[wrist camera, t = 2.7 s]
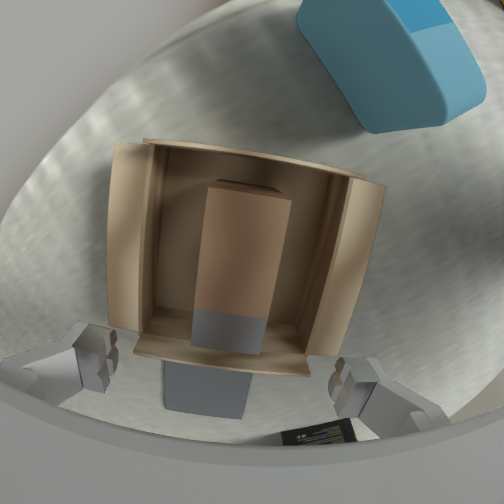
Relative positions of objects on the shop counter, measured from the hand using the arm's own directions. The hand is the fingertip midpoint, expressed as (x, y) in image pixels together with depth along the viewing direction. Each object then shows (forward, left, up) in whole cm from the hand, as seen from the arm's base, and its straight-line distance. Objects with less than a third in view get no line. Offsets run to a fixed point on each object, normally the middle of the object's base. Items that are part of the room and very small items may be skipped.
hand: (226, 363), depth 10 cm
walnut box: (0, 0, -15) cm, 15 cm away
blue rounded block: (-7, -17, -16) cm, 25 cm away
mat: (+1, +14, -16) cm, 21 cm away
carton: (0, 0, -16) cm, 16 cm away
